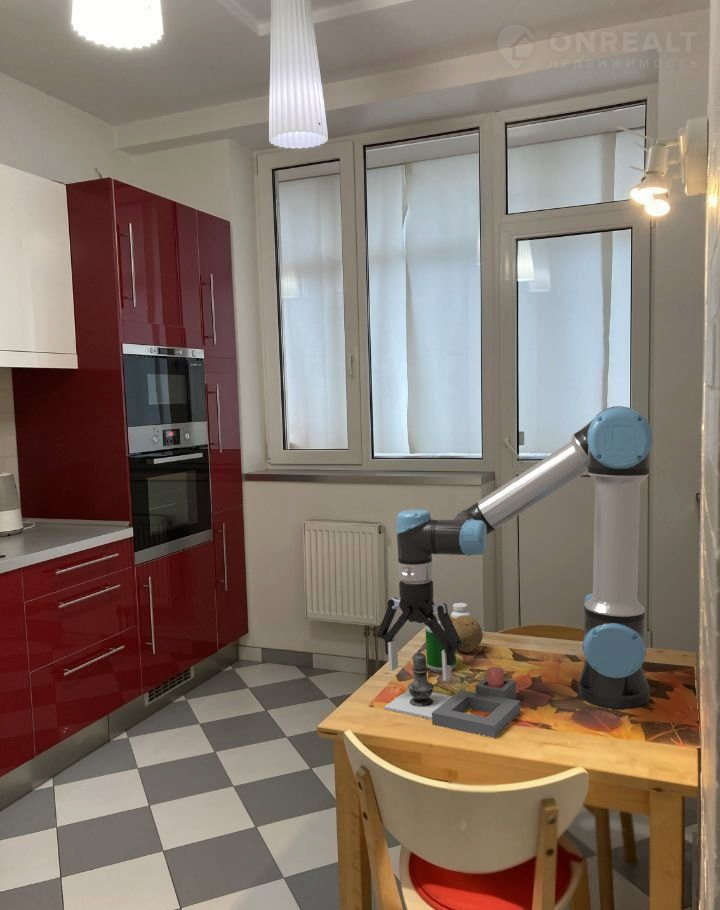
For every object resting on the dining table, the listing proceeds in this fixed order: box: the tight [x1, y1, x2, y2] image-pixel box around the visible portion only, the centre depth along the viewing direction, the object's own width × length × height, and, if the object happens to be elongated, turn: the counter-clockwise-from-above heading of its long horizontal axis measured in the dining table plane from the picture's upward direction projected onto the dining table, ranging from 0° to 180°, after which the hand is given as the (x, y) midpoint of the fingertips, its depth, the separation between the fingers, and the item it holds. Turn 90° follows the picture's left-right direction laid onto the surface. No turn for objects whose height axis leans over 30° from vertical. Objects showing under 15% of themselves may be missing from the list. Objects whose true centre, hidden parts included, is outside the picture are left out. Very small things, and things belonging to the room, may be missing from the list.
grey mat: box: [383, 689, 453, 721], centre depth 167 cm, size 12×12×1 cm
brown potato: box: [453, 615, 484, 654], centre depth 200 cm, size 9×9×10 cm
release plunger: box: [486, 666, 505, 688], centre depth 167 cm, size 4×4×6 cm
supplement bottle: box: [450, 602, 471, 623], centre depth 211 cm, size 5×5×10 cm
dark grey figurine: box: [407, 649, 435, 707], centre depth 166 cm, size 6×6×12 cm
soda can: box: [424, 618, 457, 674], centre depth 188 cm, size 8×8×12 cm
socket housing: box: [431, 676, 521, 739], centre depth 161 cm, size 14×21×4 cm
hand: (419, 673), depth 166 cm, fingers open, 13 cm apart
